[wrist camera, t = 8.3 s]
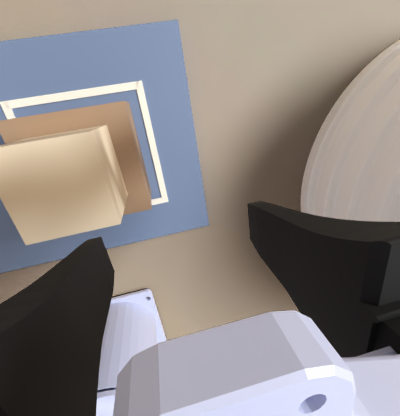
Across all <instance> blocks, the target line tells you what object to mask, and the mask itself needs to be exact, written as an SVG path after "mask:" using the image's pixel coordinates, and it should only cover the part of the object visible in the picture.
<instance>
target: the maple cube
mask: <svg viewBox="0 0 400 416" xmlns="http://www.w3.org/2000/svg"><path fill="white" fill-rule="evenodd" d="M127 196H128V193H127V190H126V187H125V183H124V180H123V177H122V173H121V170H120V167H119V163H118V160H117V157H116V153H115V150H114V147H113V143H112V140H111V137H110V133H109V130H108V127H107V125H101V126H95V127H90V128H84V129H78V130H73V131H67V132H61V133H55V134H50V135H44V136H38V137H33V138H27V139H23V140H19V141H15V142H11V143H7V144H3V145H0V198H1V200H2V202H3V204H4V206H5V208H6V210H7V211H8V213H9V215H10V217H11V219H12V221H13V222H14V224H15V226H16V228H17V230H18V232H19V234H20V235H21V237H22V239H23V241H24V243H25V245H30V244H34V243H39V242H43V241H48V240H52V239H57V238H61V237H65V236H70V235H74V234H79V233H83V232H88V231H92V230H97V229H101V228H106V227H110V226H115V225H119V224H121V221H122V217H123V213H124V208H125V204H126V200H127Z"/></svg>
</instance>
